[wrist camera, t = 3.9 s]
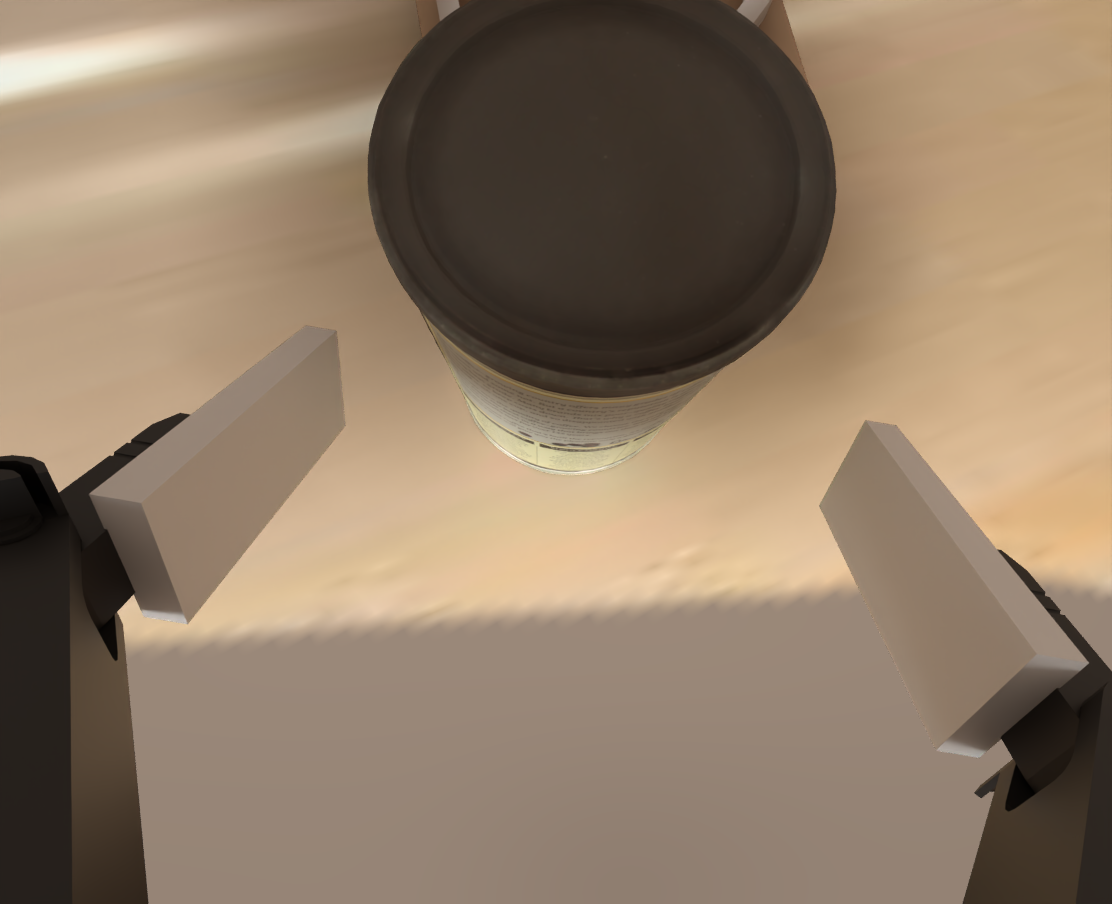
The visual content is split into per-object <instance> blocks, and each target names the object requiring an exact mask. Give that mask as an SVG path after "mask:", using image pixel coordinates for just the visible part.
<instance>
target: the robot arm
mask: <svg viewBox="0 0 1112 904" xmlns="http://www.w3.org/2000/svg"><path fill="white" fill-rule="evenodd" d="M345 426H346V425H345V414H344V404H343V393H342V383H341V372H340V362H339V351H338V341H337V331H335V330H329V329H323V328H318V327H312V326H304V327H303V328H302V329H301V330H299V331H298V332H297V333H295V334H294V335H293V336H292V337H290V338H289V339H288V340H286V341H285V342H284V343H283V344H281V345H280V346H279V347H277V348H276V349H275V350H274V351H272V352H271V353H270V354H268V355H267V356H266V357H264V358H263V359H262V360H261V361H259V362H258V363H257V364H255V365H254V366H253V367H252V368H250V369H249V370H248V371H246V372H245V373H244V374H243V375H241V376H240V377H239V378H237V379H236V380H235V381H234V382H232V383H231V384H230V385H228V386H227V387H226V388H225V389H223V390H222V391H221V392H219V393H218V394H217V395H216V396H214V397H213V398H212V399H210V400H209V401H208V402H207V403H205V404H204V405H203V406H201V407H200V408H199V409H198V410H196V411H195V412H194V413H192V414H191V415H189V414H183V413H179V414H176V415H174V416H171V417H169V418H167V419H164V420H162V421H159V422H157V423H154V424H152V425H151V426H149V427H148V428H147V429H145V430H144V431H142V432H141V433H140V434H138V435H137V436H136V437H134V438H133V439H132V440H131V443H126V444H125V445H123V446H122V447H121V448H119V449H118V450H117V451H115V452H114V455H113V456H108V457H107V458H106V459H104V460H103V461H102V462H100V463H99V464H97V465H96V466H95V467H93V468H92V469H91V470H89V471H88V472H87V473H85V474H84V475H82V476H81V477H80V478H78V479H77V480H76V481H74V482H73V483H72V484H70V485H69V486H67V487H66V488H65V489H63V490H62V491H61V492H59V493H58V490H57V488H56V486H55V484H54V482H53V480H52V478H51V476H50V474H49V472H48V470H47V468H46V466H45V464H44V463H43V462H41V461H39V460H37V459H35V458H32V457H25V456H14V455H11V456H1V457H0V904H148V893H147V883H146V871H145V860H144V849H143V839H142V828H141V817H140V806H139V795H138V784H137V774H136V763H135V752H134V740H133V730H132V719H131V708H130V697H129V686H128V675H127V664H126V653H125V642H124V631H123V624H122V621H121V619H120V617H119V615H118V613H117V611H118V610H119V609H120V608H121V607H122V606H123V605H124V604H125V603H126V602H127V601H128V600H129V599H130V598H131V596H132V595H133V594H134V596H135V598H136V600H137V603H138V605H139V607H140V609H141V611H142V614H143V616H144V617H148V618H154V619H160V620H166V621H172V622H178V623H184V624H188V623H189V622H190V621H191V619H192V618H193V617H194V616H195V614H196V613H197V612H198V610H199V609H200V608H201V607H202V605H203V604H204V603H205V602H206V600H207V599H208V598H209V597H210V595H211V594H212V593H213V592H214V590H215V589H216V588H217V587H218V585H219V584H220V583H221V582H222V580H223V579H224V578H225V577H226V575H227V574H228V573H229V571H230V570H231V569H232V568H233V566H234V565H235V564H236V563H237V561H238V560H239V559H240V558H241V556H242V555H243V554H244V553H245V551H246V550H247V549H248V548H249V546H250V545H251V544H252V543H253V541H254V540H255V539H256V538H257V536H258V535H259V534H260V532H261V531H262V530H263V529H264V527H265V526H266V525H267V524H268V522H269V521H270V520H271V519H272V517H273V516H274V515H275V514H276V512H277V511H278V510H279V509H280V507H281V506H282V505H283V504H284V502H285V501H286V500H287V499H288V497H289V496H290V495H291V493H292V492H293V491H294V490H295V488H296V487H297V486H298V485H299V483H300V482H301V481H302V480H303V478H304V477H305V476H306V475H307V473H308V472H309V471H310V470H311V468H312V467H313V466H314V465H315V463H316V462H317V461H318V460H319V458H320V457H321V456H322V454H323V453H324V452H325V451H326V449H327V448H328V447H329V446H330V444H331V443H332V442H333V441H334V439H335V438H336V437H337V436H338V434H339V433H340V432H341V431H342V429H343V428H344V427H345ZM819 506H820V508H821V510H822V513H823V515H824V517H825V519H826V521H827V523H828V525H829V527H830V529H831V531H832V534H833V536H834V538H835V540H836V542H837V544H838V546H839V548H840V550H841V552H842V555H843V557H844V559H845V561H846V563H847V565H848V567H849V569H850V571H851V574H852V576H853V578H854V580H855V582H856V584H857V586H858V588H859V590H860V592H861V595H862V597H863V599H864V601H865V603H866V605H867V607H868V609H869V611H870V613H871V616H872V618H873V620H874V622H875V624H876V626H877V628H878V630H879V632H880V634H881V637H882V639H883V641H884V643H885V645H886V647H887V649H888V651H889V653H890V655H891V658H892V660H893V662H894V664H895V666H896V668H897V670H898V672H899V674H900V676H901V679H902V681H903V683H904V685H905V687H906V689H907V691H908V693H909V695H910V697H911V700H912V702H913V704H914V706H915V708H916V710H917V712H918V714H919V716H920V718H921V721H922V722H923V725H924V727H925V729H926V731H927V733H928V735H929V737H930V740H931V742H932V744H933V746H934V748H935V750H937V751H942V752H948V753H954V754H960V755H966V756H972V757H978V758H979V757H981V756H982V755H983V754H984V753H985V752H986V751H988V750H989V749H990V748H991V747H992V746H993V745H995V744H996V743H997V742H998V741H999V740H1000V739H1002V740H1003V742H1004V744H1005V746H1006V747H1007V749H1008V751H1009V752H1010V754H1011V756H1012V758H1013V759H1012V760H1011V761H1010V762H1009V763H1007V764H1006V765H1005V766H1004V767H1003V768H1001V769H1000V770H999V771H998V772H996V773H995V774H994V775H993V776H991V777H990V778H989V779H988V780H986V781H985V782H984V783H983V784H982V785H980V786H979V788H978V789H977V790H976V791H975V794H976V795H978V796H979V797H980V798H982V797H983V796H984V795H986V794H987V793H989V792H993V791H994V796H993V799H992V803H991V806H990V810H989V813H988V817H987V820H986V824H985V827H984V831H983V834H982V837H981V841H980V845H979V848H978V852H977V855H976V858H975V863H974V866H973V869H972V872H971V876H970V879H969V883H968V887H967V890H966V894H965V897H964V901H963V904H1112V671H1111V670H1110V669H1109V668H1108V667H1107V665H1106V664H1105V663H1104V662H1103V661H1102V659H1101V658H1100V657H1099V656H1098V655H1097V653H1096V652H1095V651H1094V650H1093V649H1092V647H1091V646H1090V645H1089V644H1088V643H1087V641H1086V640H1085V639H1084V638H1083V637H1082V635H1081V634H1080V633H1079V632H1078V631H1077V629H1076V628H1075V627H1074V626H1073V625H1072V624H1071V622H1070V621H1069V620H1068V619H1067V618H1066V616H1065V615H1061V614H1060V611H1061V610H1060V609H1059V608H1058V607H1057V606H1056V604H1055V603H1054V602H1053V601H1052V600H1051V598H1050V597H1047V596H1045V591H1044V590H1043V589H1042V588H1041V587H1040V585H1039V584H1038V583H1037V582H1036V581H1035V579H1034V578H1033V577H1032V576H1031V575H1030V573H1029V572H1028V571H1027V570H1026V569H1024V568H1023V567H1022V566H1021V565H1019V564H1018V563H1017V562H1016V561H1014V560H1013V559H1012V558H1011V557H1009V556H1008V555H1007V554H1006V553H1004V552H1003V551H1002V550H998V549H996V548H995V546H994V545H993V544H992V543H991V542H990V540H989V539H988V538H987V537H986V535H985V534H984V533H983V532H982V530H981V529H980V528H979V527H978V526H977V524H976V523H975V522H974V521H973V519H972V518H971V517H970V516H969V514H968V513H967V512H966V511H965V510H964V508H963V507H962V506H961V505H960V503H959V502H958V501H957V500H956V498H955V497H954V496H953V495H952V494H951V492H950V491H949V490H948V489H947V487H946V486H945V485H944V484H943V482H942V481H941V480H940V479H939V477H938V476H937V475H936V474H935V473H934V471H933V470H932V469H931V468H930V466H929V465H928V464H927V463H926V461H925V460H924V459H923V458H922V457H921V455H920V454H919V453H918V452H917V450H916V449H915V448H914V447H913V445H912V444H911V443H910V442H909V441H908V439H907V438H906V437H905V436H904V434H903V433H902V432H901V431H900V429H899V428H898V427H897V426H896V425H891V424H885V423H879V422H873V421H867V420H865V422H864V424H863V426H862V427H861V429H860V431H859V433H858V435H857V437H856V439H855V440H854V442H853V444H852V446H851V448H850V450H849V451H848V453H847V455H846V457H845V459H844V461H843V463H842V464H841V466H840V468H839V470H838V472H837V474H836V475H835V477H834V479H833V481H832V483H831V485H830V487H829V488H828V490H827V492H826V494H825V496H824V498H823V499H822V501H821V503H820V505H819Z"/></svg>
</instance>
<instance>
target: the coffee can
mask: <svg viewBox="0 0 1112 904" xmlns="http://www.w3.org/2000/svg"><path fill="white" fill-rule="evenodd" d="M835 172H836V171H835V163H834V155H833V149H832V142H831V138H830V135H829V132H828V129H827V125H826V122H825V119H824V117H823V115H822V112H821V110H820V108H819V105H818V103H817V101H816V98H815V96H814V94H813V92H812V91H811V89H810V87H809V86H808V84H807V82H806V81H805V79H804V78H803V76H802V74H801V73H800V71H799V70H798V69H797V68H796V66H795V65H794V64H793V63H792V61H791V60H790V59H789V58H788V57H787V55H786V54H785V53H784V52H783V51H782V50H781V49H780V48H779V47H778V45H777V44H776V43H774V42H773V41H772V40H771V39H770V38H769V37H768V36H767V35H766V34H765V33H764V32H763V31H762V30H761V29H760V28H759V27H757V26H756V25H755V24H754V23H753V22H751V21H750V20H749V19H748V18H746V17H745V16H743V15H742V14H741V13H739V12H738V11H736V10H735V9H734V8H732V7H731V6H729V5H727V4H725V3H723V2H722V1H720V0H470V1H469V2H468V3H467V4H465V5H464V6H462V7H460V8H458V9H456V10H455V11H453V12H452V13H450V14H449V15H448V16H446V17H445V18H444V19H442V20H441V21H440V22H439V23H438V24H437V25H435V26H434V27H433V28H432V29H431V30H430V31H429V32H428V33H427V34H426V35H425V36H424V37H423V38H422V39H421V40H420V41H419V42H418V43H417V44H416V45H415V46H414V48H413V49H412V50H411V51H410V53H409V54H408V55H407V57H406V58H405V59H404V61H403V62H402V64H401V65H400V66H399V68H398V70H397V72H396V73H395V75H394V77H393V79H392V81H391V83H390V84H389V86H388V88H387V90H386V92H385V94H384V96H383V98H382V100H381V102H380V104H379V107H378V110H377V114H376V117H375V121H374V125H373V129H372V133H371V138H370V143H369V154H368V192H369V200H370V205H371V211H372V216H373V220H374V224H375V228H376V231H377V234H378V237H379V239H380V242H381V244H382V247H383V249H384V251H385V254H386V256H387V258H388V261H389V263H390V265H391V267H392V268H393V270H394V272H395V274H396V276H397V278H398V279H399V281H400V283H401V285H402V286H403V288H404V289H405V290H406V292H407V293H408V295H409V296H410V297H411V299H412V300H413V302H414V303H415V304H416V306H417V307H418V308H419V310H420V312H421V314H422V316H423V318H424V320H425V321H426V323H427V326H428V328H429V330H430V332H431V333H432V335H433V337H434V339H435V341H436V344H437V345H438V347H439V349H440V350H441V352H442V354H443V356H444V358H445V360H446V361H447V363H448V365H449V367H450V369H451V371H452V373H453V376H454V378H455V380H456V382H457V383H458V386H459V388H460V389H461V391H462V393H463V395H464V398H465V400H466V403H467V406H468V408H469V410H470V413H471V415H472V417H473V418H474V421H475V423H476V424H477V426H478V427H479V429H480V430H481V431H482V433H483V434H484V435H485V436H486V437H487V438H488V439H489V440H490V441H491V443H492V444H493V445H494V446H496V447H497V448H498V449H499V450H500V451H502V452H503V453H505V454H506V455H507V456H509V457H510V458H512V459H514V460H515V461H517V462H519V463H521V464H523V465H525V466H528V467H530V468H533V469H536V470H539V471H542V472H544V473H551V474H561V475H581V474H590V473H595V472H599V471H602V470H606V469H608V468H611V467H614V466H616V465H618V464H620V463H622V462H624V461H626V460H628V459H630V458H632V457H633V456H635V455H636V454H637V453H638V452H639V451H640V450H642V449H643V448H644V447H645V446H647V445H648V444H649V443H650V441H651V440H652V439H653V438H654V437H655V436H656V435H657V433H658V432H659V431H660V429H661V428H662V427H663V426H664V425H665V424H666V423H667V422H668V421H669V420H670V419H671V418H672V417H673V416H675V415H676V414H677V413H678V412H679V411H680V410H681V409H682V408H683V407H684V406H685V405H686V404H687V403H688V402H689V401H690V400H691V399H692V398H693V397H694V396H695V395H696V394H697V393H698V392H699V391H700V390H701V389H702V388H704V387H705V386H706V385H707V384H708V383H709V382H710V381H711V380H712V379H713V378H714V377H715V376H716V375H717V374H718V373H719V372H720V371H721V370H722V369H723V368H724V367H725V366H727V365H728V364H730V363H732V362H734V361H735V360H737V359H738V358H739V357H741V356H742V355H744V354H745V353H746V352H748V351H749V350H750V349H752V348H753V347H754V346H756V345H757V344H758V343H759V342H760V341H761V340H763V339H764V338H765V337H766V336H768V335H769V334H770V333H771V332H772V331H773V330H774V329H775V328H776V327H777V326H778V325H779V324H780V323H781V321H782V320H783V319H784V318H785V317H786V316H787V315H788V313H789V312H790V311H791V310H792V309H793V308H794V307H795V305H796V304H797V303H798V301H799V300H800V299H801V297H802V296H803V294H804V293H805V291H806V290H807V288H808V287H809V285H810V284H811V282H812V280H813V278H814V276H815V274H816V272H817V270H818V268H819V266H820V264H821V262H822V259H823V256H824V253H825V250H826V247H827V244H828V240H829V236H830V233H831V229H832V224H833V218H834V213H835V199H836V179H835Z"/></svg>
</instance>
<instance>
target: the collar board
mask: <svg viewBox="0 0 1112 904" xmlns="http://www.w3.org/2000/svg"><path fill="white" fill-rule="evenodd" d="M469 1H470V0H416V6H417V12H418V17H419V23H420V29H421V34H422V38H423V37H424V36H425V35H426V34H427V33H428V32H429V31H430V30H431V29H432V28H433V27H434V26H435V25H437V24H438V23H439V22H440V21H441V20H442V19H444V18H445V17H446V16H448V15H449V14H450V13H452V12H453V11H455V10H456V9H458V8H460V7H462V6H464V5H465V4H467V3H468V2H469ZM720 1H722V2H723V3H725V4H727V5H729V6H731V7H732V8H734V9H735V10H736V11H738V12H739V13H741V14H742V15H743V16H745V17H746V18H748V19H749V20H750V21H751V22H753V23H754V24H755V25H756V26H757V27H759V28H760V29H761V30H762V31H763V32H764V33H765V34H766V35H767V36H768V37H769V38H770V39H771V40H772V41H773V42H774V43H776V44H777V45H778V47H779V48H780V49H781V50H782V51H783V52H784V53H785V54H786V55H787V57H788V58H789V59H790V60H791V61H792V63H793V64H794V65H795V66H796V68H797V69H798V70H799V71H800V73H801V74H802V76H803V78H804V79H805V81H806V82H807V84H808V81H807V78H806V75H805V72H804V68H803V65H802V62H801V59H800V56H799V52H798V49H797V46H796V43H795V39H794V36H793V33H792V30H791V27H790V23H789V20H788V17H787V14H786V11H785V7H784V4H783V1H782V0H720ZM808 86H809V85H808Z"/></svg>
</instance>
